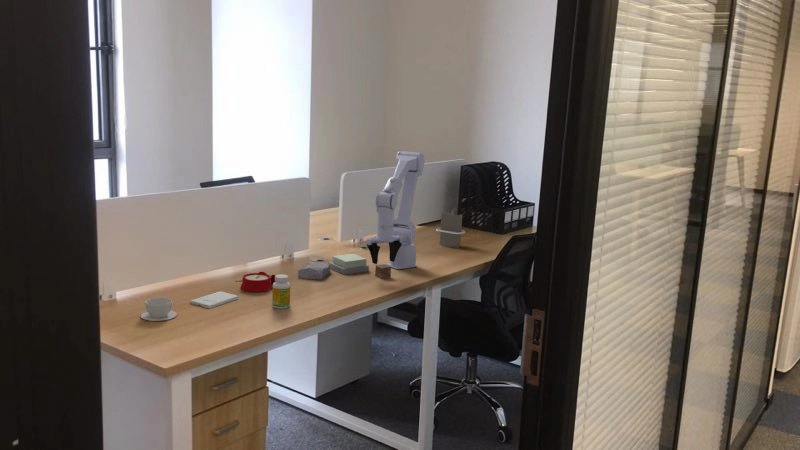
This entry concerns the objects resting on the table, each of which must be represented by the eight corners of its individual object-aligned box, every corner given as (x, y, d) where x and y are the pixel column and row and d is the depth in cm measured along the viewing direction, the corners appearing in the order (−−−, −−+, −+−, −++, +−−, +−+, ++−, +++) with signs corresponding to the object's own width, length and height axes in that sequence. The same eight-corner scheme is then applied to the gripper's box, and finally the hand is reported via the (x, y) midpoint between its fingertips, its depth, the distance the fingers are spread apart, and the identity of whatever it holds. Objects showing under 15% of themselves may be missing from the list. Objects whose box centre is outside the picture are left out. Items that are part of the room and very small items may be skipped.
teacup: (181, 319, 209) (181, 303, 208) (145, 324, 204) (145, 308, 203) (171, 309, 217) (171, 294, 216) (136, 313, 212) (136, 298, 211)
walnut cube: (384, 274, 267) (384, 264, 266) (390, 277, 264) (391, 266, 263) (375, 276, 264) (375, 265, 264) (381, 278, 261) (381, 268, 260)
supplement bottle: (279, 310, 221) (280, 279, 219) (268, 305, 225) (269, 275, 223) (293, 306, 225) (294, 276, 223) (282, 302, 229) (283, 272, 227)
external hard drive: (238, 300, 230) (209, 310, 219) (219, 295, 234) (189, 304, 224) (238, 295, 230) (209, 305, 219) (219, 290, 234) (189, 299, 223)
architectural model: (434, 238, 332) (436, 206, 329) (485, 246, 320) (487, 214, 318) (414, 245, 315) (416, 212, 312) (467, 255, 304) (469, 220, 301)
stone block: (296, 282, 257) (323, 280, 255) (294, 269, 257) (321, 266, 255) (307, 275, 269) (332, 272, 267) (305, 262, 268) (330, 260, 266)
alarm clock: (231, 278, 239) (262, 260, 251) (234, 295, 242) (265, 277, 253) (254, 285, 234) (285, 266, 245) (257, 302, 236) (287, 282, 247)
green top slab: (352, 259, 277) (353, 253, 277) (366, 265, 270) (366, 258, 270) (332, 262, 272) (332, 256, 271) (345, 268, 265) (345, 261, 264)
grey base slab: (352, 265, 279) (353, 259, 279) (368, 272, 270) (368, 266, 270) (328, 268, 273) (328, 262, 272) (343, 276, 264) (343, 269, 263)
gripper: (374, 229, 253) (372, 267, 255) (408, 226, 261) (406, 262, 264) (363, 225, 258) (362, 262, 261) (396, 222, 267) (394, 258, 269)
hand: (383, 262), depth 263 cm, fingers open, 7 cm apart
